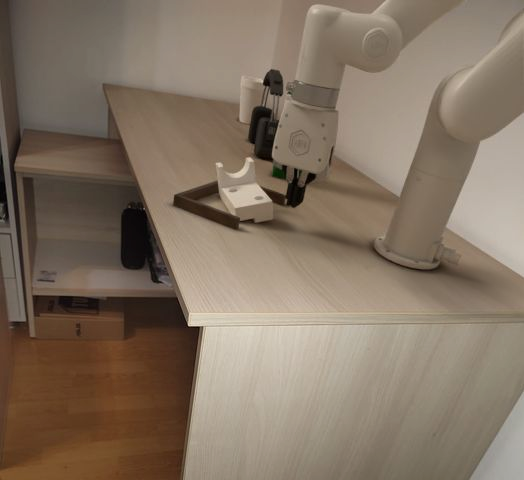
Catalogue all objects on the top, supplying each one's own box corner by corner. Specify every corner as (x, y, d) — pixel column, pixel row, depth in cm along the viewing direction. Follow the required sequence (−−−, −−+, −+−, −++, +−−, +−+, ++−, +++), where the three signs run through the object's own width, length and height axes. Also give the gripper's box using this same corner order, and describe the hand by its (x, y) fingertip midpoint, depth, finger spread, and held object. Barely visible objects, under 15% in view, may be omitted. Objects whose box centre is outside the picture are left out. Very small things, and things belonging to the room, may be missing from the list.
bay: (284, 204, 103) (286, 195, 102) (235, 229, 86) (237, 218, 85) (229, 184, 107) (231, 175, 105) (173, 205, 90) (173, 194, 89)
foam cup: (230, 117, 167) (236, 74, 160) (255, 120, 171) (262, 78, 164) (241, 124, 161) (248, 80, 153) (266, 127, 165) (274, 84, 157)
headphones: (278, 162, 130) (295, 78, 118) (254, 158, 128) (269, 73, 117) (266, 141, 147) (280, 66, 136) (246, 138, 146) (258, 62, 135)
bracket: (219, 200, 100) (215, 163, 95) (253, 194, 101) (250, 157, 96) (236, 226, 90) (232, 186, 85) (273, 219, 92) (271, 179, 87)
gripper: (265, 87, 80) (248, 197, 90) (349, 108, 76) (322, 222, 86) (284, 86, 86) (266, 189, 96) (364, 105, 81) (336, 212, 92)
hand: (293, 204), depth 91 cm, fingers closed
